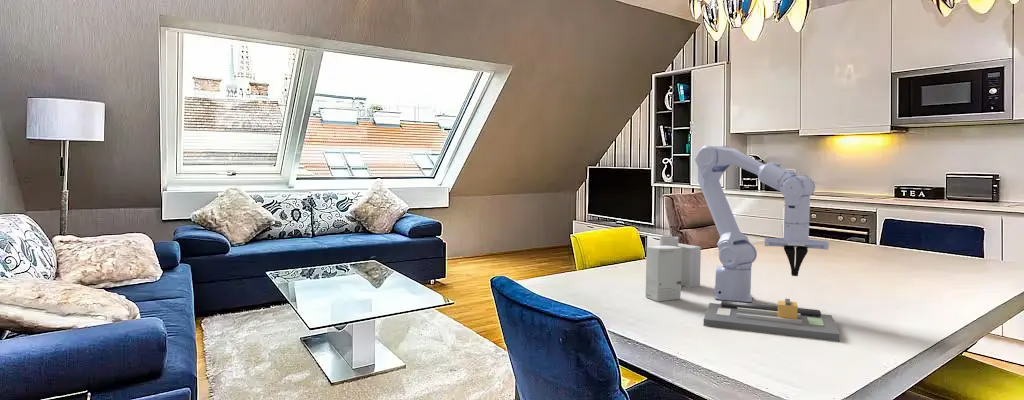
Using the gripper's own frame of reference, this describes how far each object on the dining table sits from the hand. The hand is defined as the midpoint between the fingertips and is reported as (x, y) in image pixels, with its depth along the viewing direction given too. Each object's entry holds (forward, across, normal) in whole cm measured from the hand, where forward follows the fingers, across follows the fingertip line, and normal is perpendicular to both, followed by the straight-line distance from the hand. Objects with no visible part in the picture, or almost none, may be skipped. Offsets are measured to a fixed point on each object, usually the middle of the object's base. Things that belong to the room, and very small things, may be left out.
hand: (794, 275), depth 143 cm
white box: (+10, -34, +18) cm, 40 cm away
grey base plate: (+9, -6, -14) cm, 18 cm away
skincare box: (+10, -33, 0) cm, 34 cm away
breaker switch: (+8, -2, -14) cm, 16 cm away
